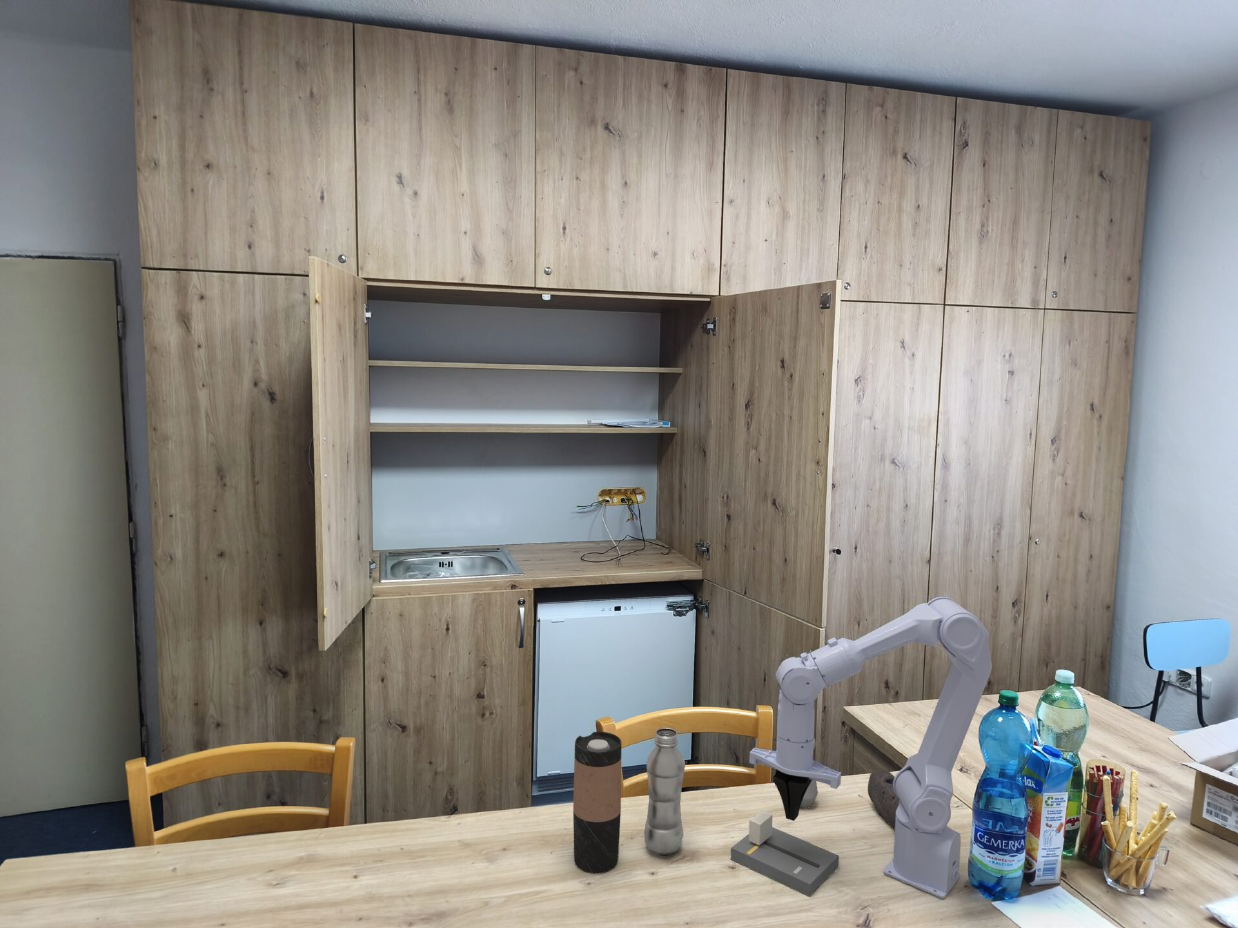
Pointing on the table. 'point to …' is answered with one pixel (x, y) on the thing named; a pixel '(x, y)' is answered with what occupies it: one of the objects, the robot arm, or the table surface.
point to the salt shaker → (810, 792)
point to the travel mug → (597, 801)
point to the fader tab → (760, 827)
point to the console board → (787, 860)
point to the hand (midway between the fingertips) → (792, 816)
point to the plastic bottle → (664, 794)
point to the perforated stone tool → (883, 795)
